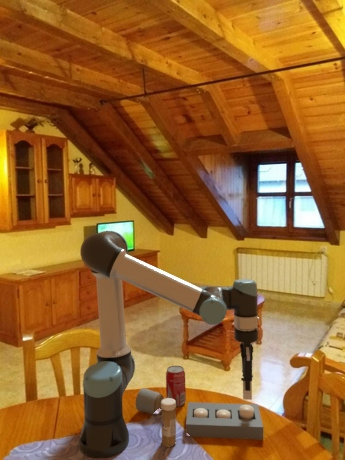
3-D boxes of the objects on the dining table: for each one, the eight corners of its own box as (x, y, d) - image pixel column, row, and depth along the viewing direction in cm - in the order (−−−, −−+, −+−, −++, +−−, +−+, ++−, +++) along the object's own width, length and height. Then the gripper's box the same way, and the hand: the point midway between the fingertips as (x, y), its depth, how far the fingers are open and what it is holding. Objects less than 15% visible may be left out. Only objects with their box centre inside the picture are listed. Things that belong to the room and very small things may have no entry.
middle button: (216, 425, 128) (216, 416, 127) (216, 417, 132) (216, 409, 132) (230, 426, 127) (230, 417, 127) (230, 418, 132) (230, 409, 132)
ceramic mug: (155, 419, 134) (155, 397, 134) (135, 414, 138) (134, 393, 137) (169, 405, 144) (169, 385, 143) (149, 401, 147) (149, 381, 147)
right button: (239, 420, 127) (239, 411, 127) (238, 413, 131) (238, 404, 131) (254, 421, 126) (254, 412, 126) (252, 413, 131) (252, 404, 131)
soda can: (189, 401, 146) (188, 367, 146) (179, 409, 140) (178, 374, 140) (173, 396, 150) (172, 363, 149) (162, 404, 144) (162, 370, 143)
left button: (193, 424, 128) (193, 415, 128) (194, 416, 133) (194, 407, 133) (207, 424, 128) (207, 415, 128) (207, 417, 132) (207, 408, 132)
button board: (186, 436, 124) (185, 424, 124) (188, 413, 138) (188, 402, 138) (263, 439, 122) (263, 427, 121) (257, 415, 136) (257, 404, 135)
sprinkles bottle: (158, 443, 121) (157, 400, 120) (169, 437, 124) (168, 395, 123) (168, 450, 117) (167, 406, 116) (179, 443, 120) (178, 400, 120)
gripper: (260, 334, 120) (261, 408, 122) (255, 321, 133) (256, 389, 135) (235, 334, 121) (237, 408, 122) (233, 321, 134) (234, 389, 135)
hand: (247, 398), depth 128 cm, fingers closed
